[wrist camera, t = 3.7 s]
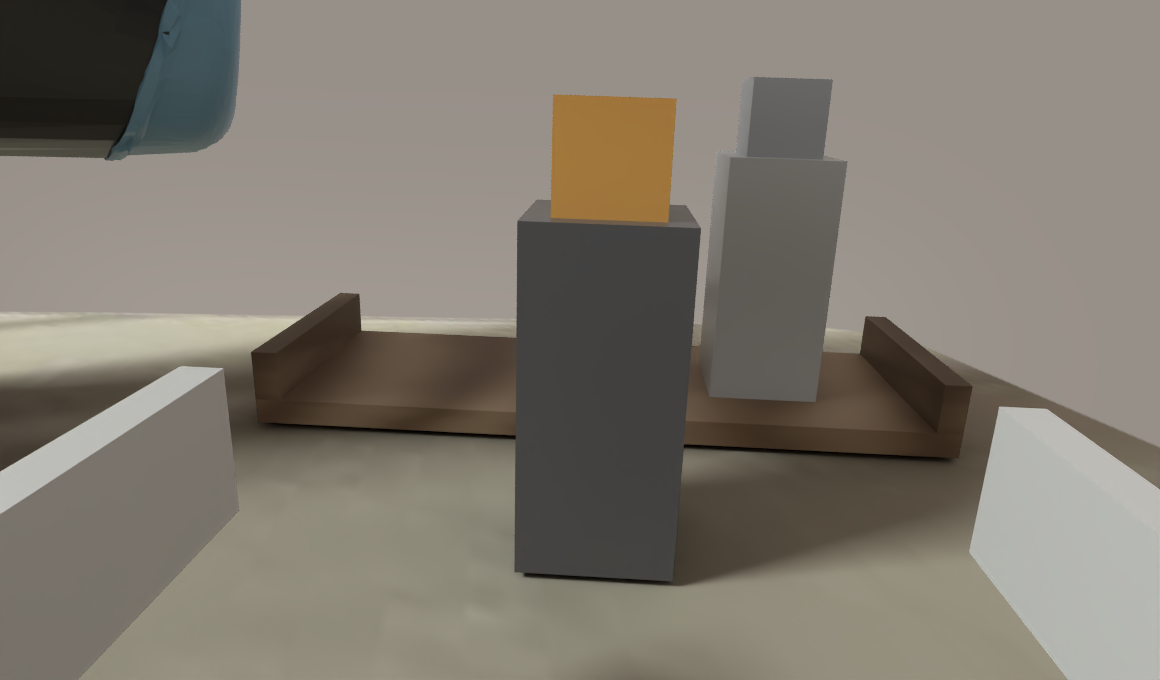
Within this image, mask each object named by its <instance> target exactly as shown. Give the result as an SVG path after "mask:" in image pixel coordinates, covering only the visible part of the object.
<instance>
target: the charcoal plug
mask: <svg viewBox="0 0 1160 680" xmlns="http://www.w3.org/2000/svg"><path fill="white" fill-rule="evenodd" d="M675 114H676V99H670V98H639V97H609V96H581V95H553V128H552V174H551V178H552V179H551V200H536V201H535V202H534V204H533V205H532V206H531V207H530V208H529V209H528V210H527V211H526V212H525V213H524V214H523V216H522V217H521V218H520V219H519V220H518V225H517V230H518V231H517V234H518V235H517V345H516V464H515V572H522V573H539V574H555V575H572V576H589V577H606V578H623V579H640V580H657V581H673V574H674V562H675V549H676V536H677V524H678V511H679V499H680V486H681V473H682V461H683V448H684V435H685V423H686V410H687V398H688V385H689V372H690V360H691V347H692V334H693V322H694V308H695V295H696V284H697V270H698V259H699V246H700V234H701V228H700V226H699V225H698V223H697V222H696V220H695V218H694V217H693V215H692V214H691V212H690V211H689V209H688V208H687V206H685V205H670V190H671V175H672V159H673V145H674V130H675Z"/></svg>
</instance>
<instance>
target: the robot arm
mask: <svg viewBox="0 0 1160 680" xmlns="http://www.w3.org/2000/svg"><path fill="white" fill-rule="evenodd" d="M240 22H241V0H0V156H37V157H39V156H40V157H42V156H43V157H86V158H88V157H89V158H104V159H105V160H111V161H113V160H121V159H124V158H125V157H126V156H127V155H144V154H167V153H190V152H197V151H199V150H202V149H205V148H207V147H208V146H210V145H212V144H214V143H217V142H218V141H219V140H220V139H222V138H223V136H224V135H225V134H226V133H227V132H228V130H229V128H230V126H231V123H232V120H233V117H234V112H235V106H236V95H237V85H238V71H239V70H238V69H239V51H240ZM238 511H239V502H238V493H237V484H236V475H235V466H234V457H233V448H232V439H231V430H230V421H229V412H228V404H227V395H226V386H225V377H224V368H208V367H187V366H180V367H178V368H176V369H175V370H173V371H171V372H169V373H168V374H166V375H164V376H163V377H161V378H159V379H157V380H156V381H154V382H152V383H151V384H149V385H147V386H146V387H144V388H142V389H140V390H139V391H137V392H135V393H134V394H132V395H130V396H128V397H127V398H125V399H123V400H122V401H120V402H118V403H116V404H115V405H113V406H111V407H110V408H108V409H106V410H104V411H103V412H101V413H99V414H98V415H96V416H94V417H92V418H91V419H89V420H87V421H86V422H84V423H82V424H81V425H79V426H77V427H75V428H74V429H72V430H70V431H69V432H67V433H65V434H63V435H62V436H60V437H58V438H57V439H55V440H53V441H51V442H50V443H48V444H46V445H45V446H43V447H41V448H39V449H38V450H36V451H34V452H33V453H31V454H29V455H27V456H26V457H24V458H22V459H21V460H19V461H17V462H16V463H14V464H12V465H10V466H9V467H7V468H5V469H4V470H2V471H0V680H78V679H79V678H80V677H81V676H82V675H83V674H84V673H85V672H86V671H87V670H88V669H89V668H90V667H91V665H92V664H93V663H94V662H95V661H96V660H97V659H98V658H99V657H100V656H101V655H102V654H103V653H104V652H105V651H106V650H107V649H108V648H109V647H110V646H111V644H112V643H113V642H114V641H115V640H116V639H117V638H118V637H119V636H120V635H121V634H122V633H123V632H124V631H125V630H126V629H127V628H128V627H129V626H130V625H131V623H132V622H133V621H134V620H135V619H136V618H137V617H138V616H139V615H140V614H141V613H142V612H143V611H144V610H145V609H146V608H147V607H148V606H149V605H150V604H151V602H152V601H153V600H154V599H155V598H156V597H157V596H158V595H159V594H160V593H161V592H162V591H163V590H164V589H165V588H166V587H167V586H168V585H169V584H170V583H171V581H172V580H173V579H174V578H175V577H176V576H177V575H178V574H179V573H180V572H181V571H182V570H183V569H184V568H185V567H186V566H187V565H188V564H189V563H190V562H191V561H192V559H193V558H194V557H195V556H196V555H197V554H198V553H199V552H200V551H201V550H202V549H203V548H204V547H205V546H206V545H207V544H208V543H209V542H210V541H211V540H212V538H213V537H214V536H215V535H216V534H217V533H218V532H219V531H220V530H221V529H222V528H223V527H224V526H225V525H226V524H227V523H228V522H229V521H230V520H231V519H232V517H233V516H234V515H235V514H236V513H237V512H238ZM969 553H970V554H971V555H972V557H973V558H974V559H975V560H976V562H977V563H978V564H979V566H980V567H981V568H982V569H983V571H984V572H985V573H986V575H987V576H988V577H989V578H990V580H991V581H992V582H993V584H994V585H995V586H996V587H997V589H998V590H999V591H1000V593H1001V594H1002V595H1003V597H1004V598H1005V599H1006V600H1007V602H1008V603H1009V604H1010V606H1011V607H1012V608H1013V609H1014V611H1015V612H1016V613H1017V615H1018V616H1019V617H1020V618H1021V620H1022V621H1023V622H1024V624H1025V625H1026V626H1027V627H1028V629H1029V630H1030V631H1031V633H1032V634H1033V635H1034V636H1035V638H1036V639H1037V640H1038V642H1039V643H1040V644H1041V645H1042V647H1043V648H1044V649H1045V651H1046V652H1047V653H1048V654H1049V656H1050V657H1051V658H1052V660H1053V661H1054V662H1055V663H1056V665H1057V666H1058V667H1059V669H1060V670H1061V671H1062V672H1063V674H1064V675H1065V676H1066V678H1067V679H1068V680H1160V489H1158V488H1157V487H1156V486H1154V485H1153V484H1151V483H1150V482H1149V481H1147V480H1146V479H1144V478H1143V477H1142V476H1140V475H1139V474H1137V473H1136V472H1135V471H1133V470H1132V469H1130V468H1129V467H1128V466H1126V465H1125V464H1123V463H1122V462H1121V461H1119V460H1118V459H1116V458H1115V457H1114V456H1112V455H1111V454H1109V453H1108V452H1107V451H1105V450H1104V449H1102V448H1101V447H1099V446H1098V445H1097V444H1095V443H1094V442H1092V441H1091V440H1090V439H1088V438H1087V437H1085V436H1084V435H1083V434H1081V433H1080V432H1078V431H1077V430H1076V429H1074V428H1073V427H1071V426H1070V425H1069V424H1067V423H1066V422H1064V421H1063V420H1062V419H1060V418H1059V417H1057V416H1056V415H1055V414H1053V413H1052V412H1050V411H1049V410H1048V409H1038V408H1017V407H999V411H998V416H997V421H996V425H995V430H994V435H993V440H992V445H991V449H990V454H989V459H988V464H987V469H986V473H985V478H984V483H983V488H982V493H981V497H980V502H979V507H978V512H977V517H976V521H975V526H974V531H973V536H972V541H971V545H970V550H969Z"/></svg>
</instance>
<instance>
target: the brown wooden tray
mask: <svg viewBox="0 0 1160 680" xmlns="http://www.w3.org/2000/svg"><path fill="white" fill-rule="evenodd" d="M516 345H517V338H507V337H485V336H463V335H442V334H420V333H399V332H377V331H361V317H360V298H359V294H350V293H349V294H348V293H340V294H338V295H337V296H335V297H334V298H332V299H331V300H329V301H328V302H326V303H325V304H323V305H322V306H320V307H319V308H317V309H316V310H314V311H312V312H311V313H309V314H308V315H306V316H305V317H303V318H302V319H300V320H299V321H297V322H296V323H294V324H293V325H291V326H290V327H288V328H287V329H285V330H284V331H282V332H281V333H279V334H278V335H276V336H275V337H273V338H272V339H270V340H269V341H267V342H266V343H264V344H263V345H261V346H260V347H258V348H256V349H255V350H253V351H252V352H251V356H252V366H253V376H254V386H255V396H256V406H257V416H258V422H266V423H286V424H305V425H325V426H344V427H363V428H383V429H402V430H421V431H441V432H460V433H480V434H499V435H516ZM700 347H701V346H692V347H691V360H690V372H689V385H688V398H687V410H686V423H685V435H684V444H693V445H712V446H732V447H751V448H770V449H790V450H809V451H829V452H848V453H867V454H887V455H906V456H926V457H945V458H959V453H960V448H961V442H962V437H963V432H964V427H965V422H966V417H967V412H968V407H969V402H970V396H971V391H972V386H971V385H970V384H969V383H967V382H966V381H965V380H964V379H962V378H961V377H960V376H959V375H957V374H956V373H955V372H954V371H952V370H951V369H950V368H949V367H947V366H946V365H945V364H944V363H942V362H941V361H940V360H939V359H937V358H936V357H935V356H934V355H932V354H931V353H930V352H929V351H927V350H926V349H925V348H924V347H922V346H921V345H920V344H919V343H917V342H916V341H915V340H913V339H912V338H911V337H910V336H909V335H907V334H906V333H905V332H903V331H902V330H901V329H900V328H898V327H897V326H896V325H894V324H893V323H892V322H891V321H890V320H888V319H887V318H886V317H868V316H867V317H865V324H864V331H863V337H862V344H861V351H860V354H852V353H830V352H822V358H821V366H820V373H819V381H818V388H817V396H816V402H802V401H781V400H761V399H740V398H720V397H709V394H708V391H707V387H706V384H705V381H704V378H703V374H702V371H701V368H700V364H699V359H700Z"/></svg>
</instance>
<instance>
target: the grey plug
mask: <svg viewBox="0 0 1160 680" xmlns="http://www.w3.org/2000/svg"><path fill="white" fill-rule="evenodd" d="M832 82H833V80H828V79H826V80H825V79H795V78H765V77H753V78H748V79H744V80H743V81H742V92H741V104H740V114H739V125H738V137H737V148H736V152H733V151H717V154H716V167H715V178H714V190H713V203H712V215H711V227H710V238H709V251H708V264H707V276H706V287H705V299H704V300H705V301H704V311H703V312H704V313H703V323H702V335H701V347H700V359H699V364H700V368H701V371H702V374H703V378H704V381H705V384H706V387H707V391H708V394H709V397H720V398H740V399H761V400H781V401H802V402H816V396H817V388H818V381H819V373H820V366H821V358H822V351H823V343H824V335H825V328H826V320H827V312H828V305H829V297H830V290H831V282H832V275H833V267H834V260H835V252H836V244H837V237H838V228H839V221H840V214H841V207H842V198H843V192H844V184H845V177H846V168H847V161H843V160H839V159H835V158H830V157H827V156H823V155H824V147H825V139H826V131H827V122H828V115H829V106H830V99H831V90H832Z"/></svg>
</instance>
